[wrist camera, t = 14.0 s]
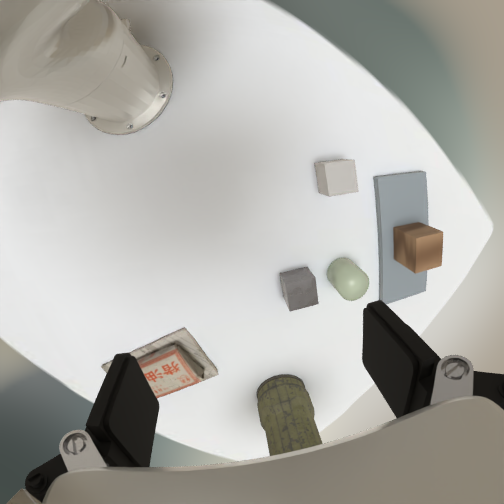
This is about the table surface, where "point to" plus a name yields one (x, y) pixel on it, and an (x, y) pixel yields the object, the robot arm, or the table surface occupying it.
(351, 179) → the grey plastic cube
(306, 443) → the thermos
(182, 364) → the packaged product
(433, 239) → the walnut block
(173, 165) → the table surface
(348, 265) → the sage plastic cylinder
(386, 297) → the slate board
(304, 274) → the dark metal block
